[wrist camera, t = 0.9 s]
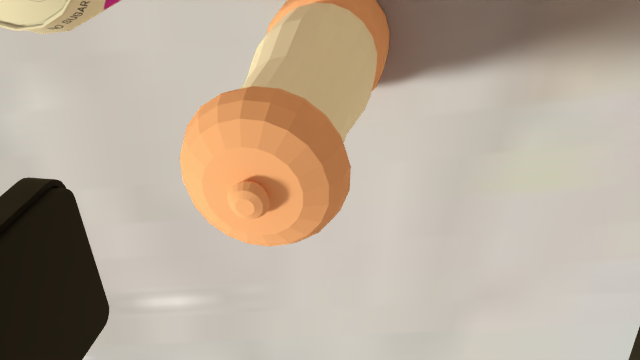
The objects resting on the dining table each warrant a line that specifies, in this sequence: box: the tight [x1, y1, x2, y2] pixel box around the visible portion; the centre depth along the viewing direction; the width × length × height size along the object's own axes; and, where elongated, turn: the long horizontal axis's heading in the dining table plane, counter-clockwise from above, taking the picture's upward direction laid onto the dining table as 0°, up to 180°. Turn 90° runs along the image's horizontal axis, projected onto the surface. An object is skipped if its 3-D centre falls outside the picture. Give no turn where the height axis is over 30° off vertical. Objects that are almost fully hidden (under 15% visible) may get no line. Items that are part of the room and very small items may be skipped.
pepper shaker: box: [180, 0, 390, 246], centre depth 30 cm, size 7×7×19 cm
